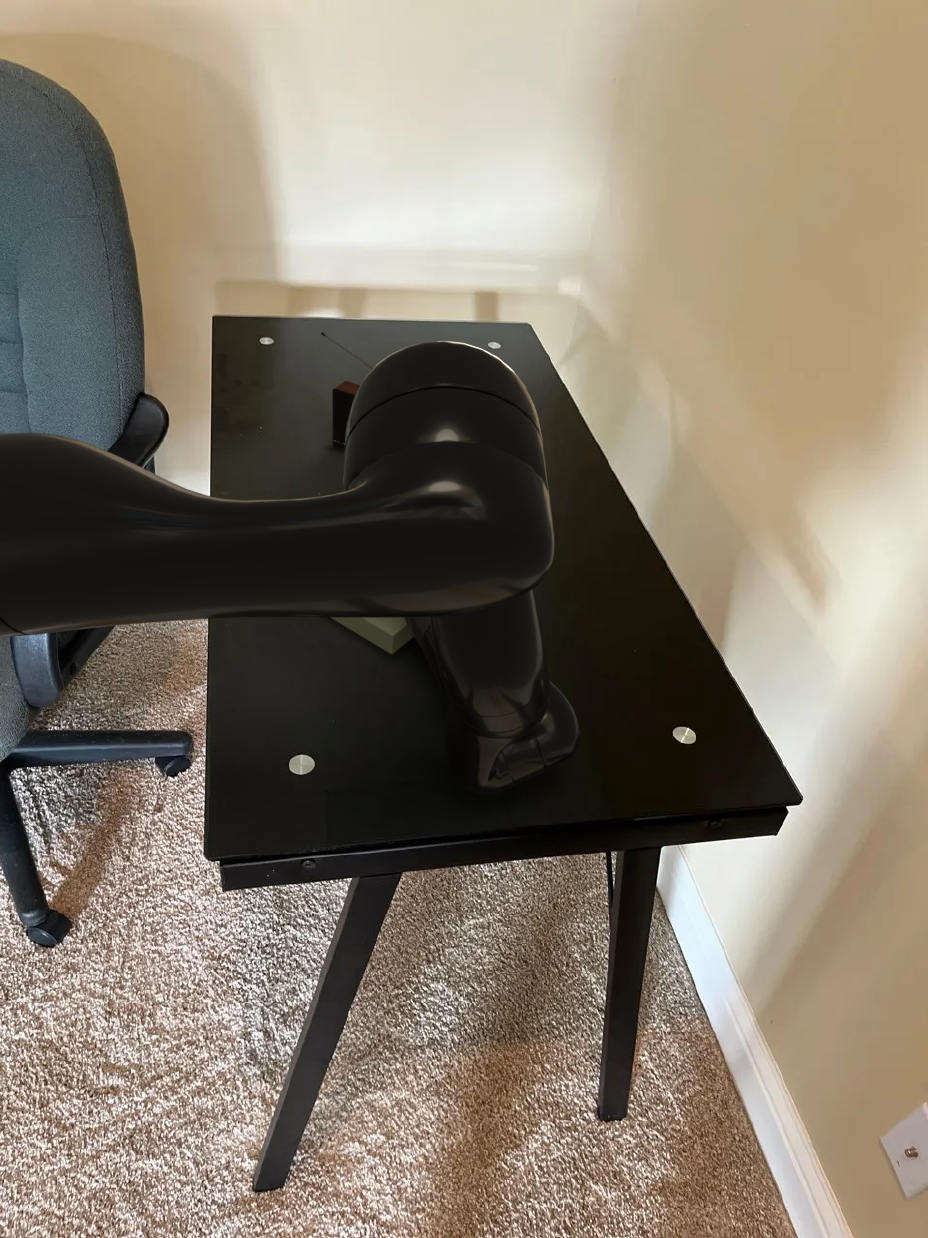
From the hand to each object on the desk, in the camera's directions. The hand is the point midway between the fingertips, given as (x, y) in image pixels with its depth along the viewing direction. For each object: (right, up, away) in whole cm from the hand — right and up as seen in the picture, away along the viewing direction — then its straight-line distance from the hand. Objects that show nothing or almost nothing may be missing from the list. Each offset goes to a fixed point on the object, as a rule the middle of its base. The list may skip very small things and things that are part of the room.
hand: (390, 500), depth 87 cm
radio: (-2, +8, +21) cm, 23 cm away
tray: (0, -8, +4) cm, 9 cm away
